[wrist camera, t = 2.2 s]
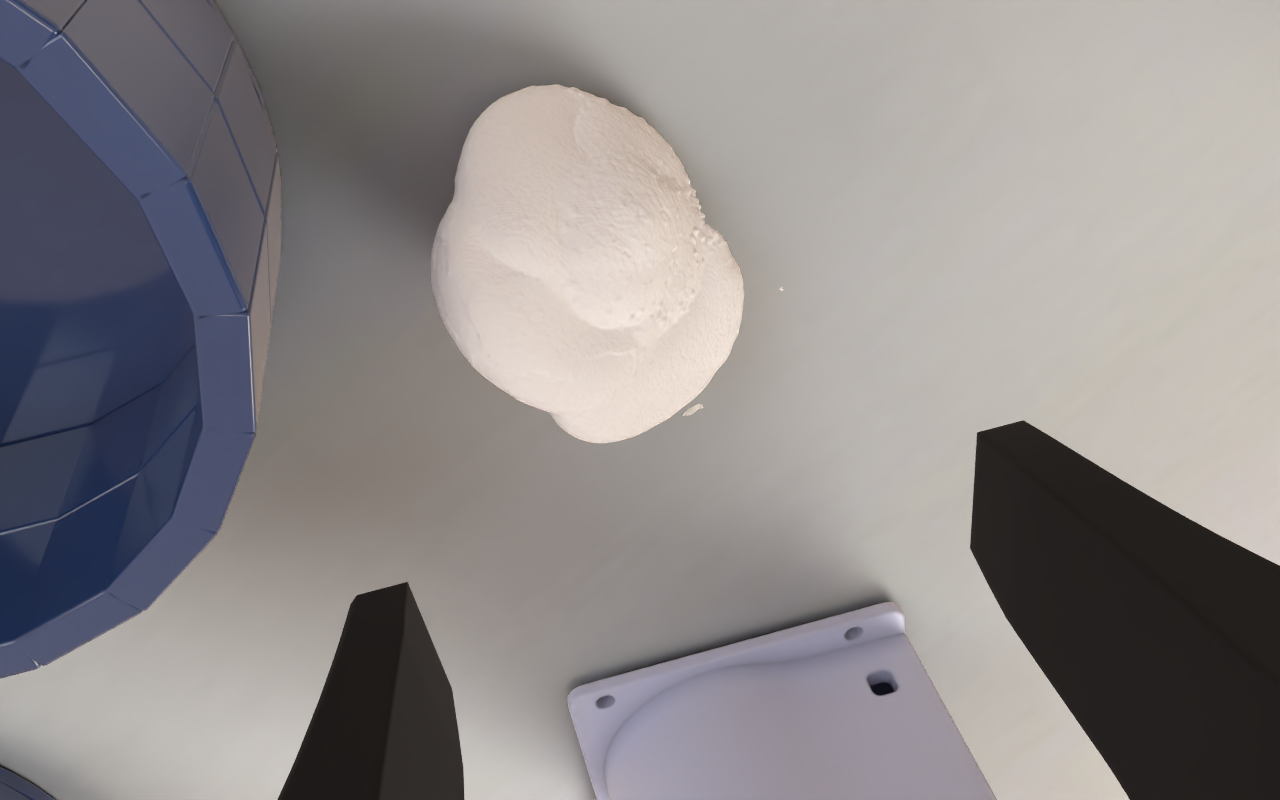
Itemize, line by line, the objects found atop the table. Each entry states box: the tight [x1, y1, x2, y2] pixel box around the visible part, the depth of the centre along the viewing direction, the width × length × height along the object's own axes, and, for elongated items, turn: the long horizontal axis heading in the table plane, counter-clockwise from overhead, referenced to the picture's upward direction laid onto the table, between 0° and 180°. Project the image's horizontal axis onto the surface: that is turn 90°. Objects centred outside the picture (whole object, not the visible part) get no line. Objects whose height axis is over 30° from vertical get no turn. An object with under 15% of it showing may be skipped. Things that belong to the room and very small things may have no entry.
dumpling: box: [430, 84, 784, 443], centre depth 19 cm, size 7×5×4 cm
